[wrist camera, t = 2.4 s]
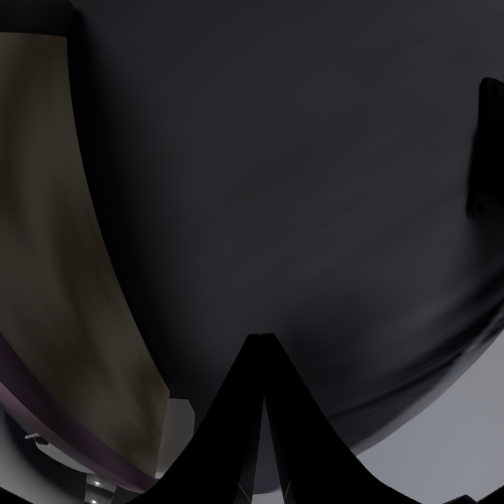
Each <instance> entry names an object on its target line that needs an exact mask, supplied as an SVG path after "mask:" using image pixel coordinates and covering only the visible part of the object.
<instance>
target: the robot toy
mask: <svg viewBox="0 0 504 504" xmlns="http://www.w3.org/2000/svg"><path fill="white" fill-rule="evenodd" d="M34 436H36V437H35V440H36V445H37V446H38V448H39V449H40V450H42V451H43V452H44V453H46V454H47V455H49V456H50V457H52V458H54V459H55V460H57V461H59V462H61V463H63V464H65V465H67V466H69V467H71V468H73V469H76V470H79V471H81V472H87V473H93V474H96V473H94V472H93V471H91V470H89V469H88V468H86V467H84V466H83V465H81V464H80V463H78V462H76V461H75V460H73V459H72V458H70V457H69V456H67V455H66V454H64V453H63V452H61V451H60V450H59V449H57V448H56V447H54V446H53V445H52V444H50V443H49V442H48V441H46V440H45V439H44V438H42V437H41V436H40V435H39V434H37V433H36V434H32V435H29V436H25V438H26V439H28V438H30V437H34Z"/></svg>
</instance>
